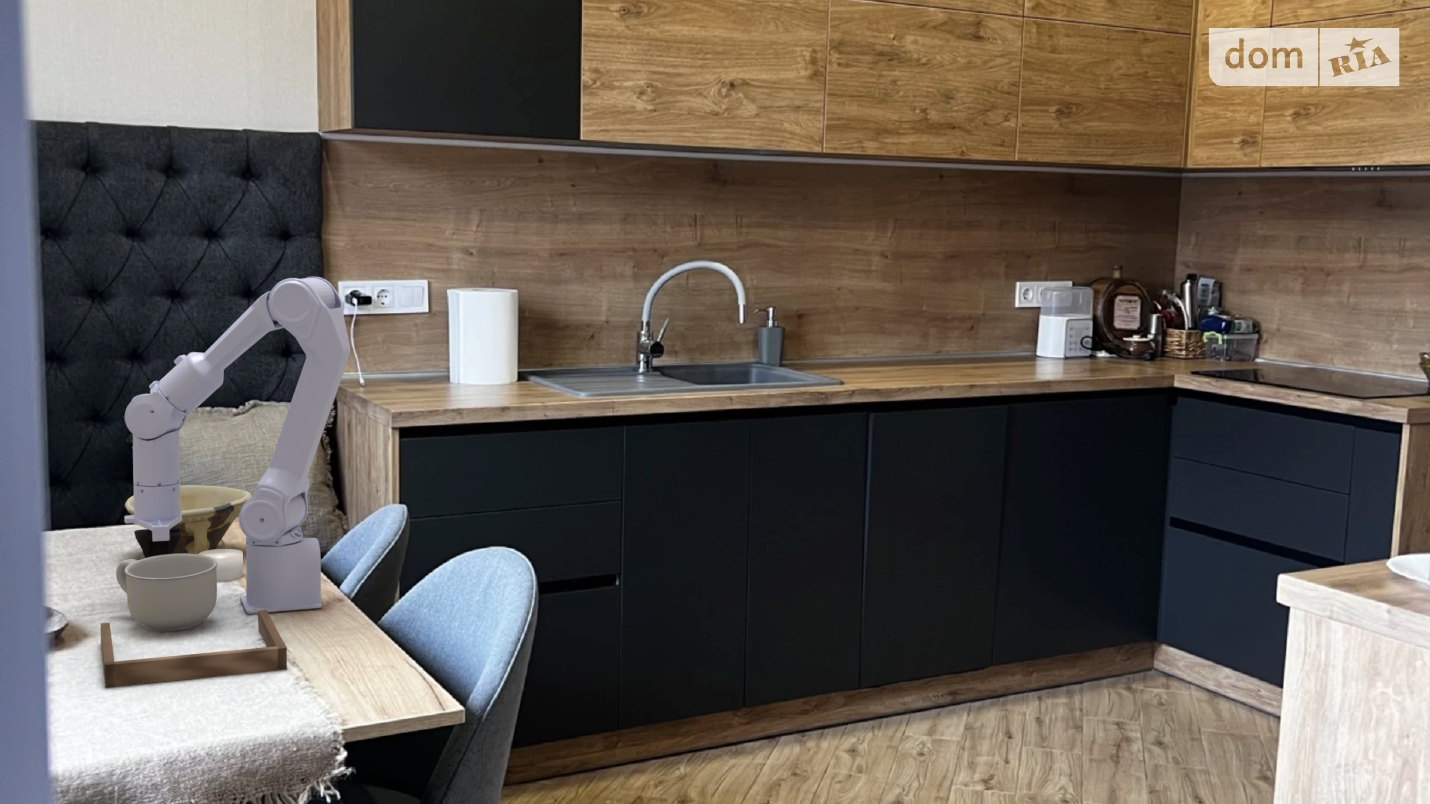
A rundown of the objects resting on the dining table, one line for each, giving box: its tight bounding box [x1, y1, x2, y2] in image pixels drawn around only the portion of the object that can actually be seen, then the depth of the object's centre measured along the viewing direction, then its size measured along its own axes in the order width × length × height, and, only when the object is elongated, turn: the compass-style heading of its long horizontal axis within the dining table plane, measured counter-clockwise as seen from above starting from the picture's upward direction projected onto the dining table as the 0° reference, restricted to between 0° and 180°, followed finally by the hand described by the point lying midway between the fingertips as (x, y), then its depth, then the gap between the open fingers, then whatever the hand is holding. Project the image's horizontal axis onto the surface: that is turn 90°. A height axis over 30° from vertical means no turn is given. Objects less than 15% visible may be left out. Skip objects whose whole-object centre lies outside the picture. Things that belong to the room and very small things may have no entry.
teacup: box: [115, 554, 218, 632], centre depth 171 cm, size 14×11×8 cm
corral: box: [100, 610, 288, 688], centre depth 159 cm, size 19×17×2 cm
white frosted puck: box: [199, 548, 244, 583], centre depth 195 cm, size 6×6×4 cm
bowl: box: [124, 484, 253, 554], centre depth 206 cm, size 18×18×10 cm
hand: (158, 583), depth 182 cm, fingers closed
